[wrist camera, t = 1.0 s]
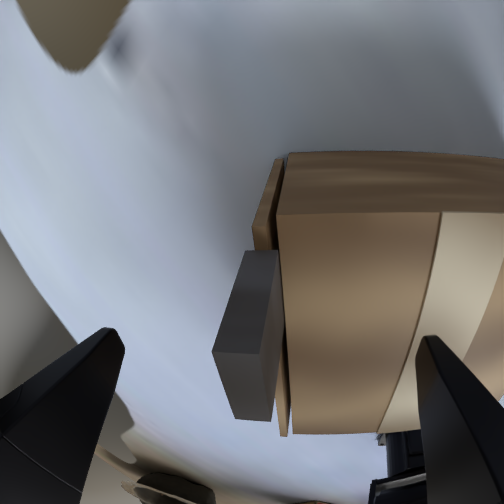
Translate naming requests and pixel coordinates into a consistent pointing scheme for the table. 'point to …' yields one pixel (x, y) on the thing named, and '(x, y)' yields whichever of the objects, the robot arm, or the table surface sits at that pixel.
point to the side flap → (257, 323)
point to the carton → (387, 280)
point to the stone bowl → (168, 490)
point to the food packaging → (313, 502)
